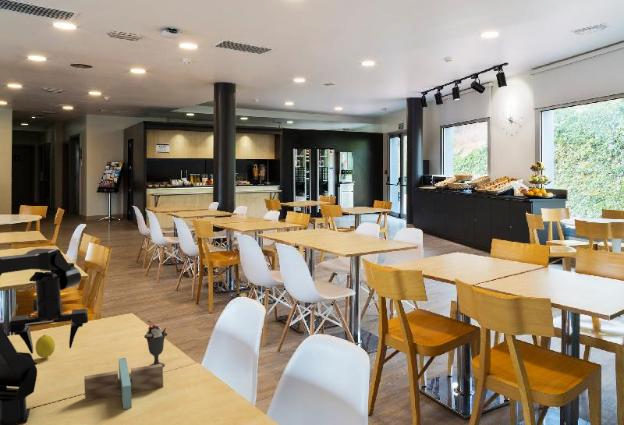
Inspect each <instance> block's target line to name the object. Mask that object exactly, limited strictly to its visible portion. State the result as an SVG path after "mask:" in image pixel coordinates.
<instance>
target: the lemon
mask: <svg viewBox="0 0 624 425" xmlns="http://www.w3.org/2000/svg"><path fill="white" fill-rule="evenodd" d="M55 349H56V343H55V340H54V338H53V337H52V336H50V335H48V334H43V335H42V336H40V337H38V339H37V340H36V342H35V352H36V354H37V356H39V357H40V358H43V359H45V360H46V359H48V358H49V357H51V355H53V353H54V352H55Z"/></svg>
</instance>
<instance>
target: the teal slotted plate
mask: <svg viewBox="0 0 624 425" xmlns="http://www.w3.org/2000/svg"><path fill="white" fill-rule="evenodd" d="M127 361H128V360H127V358H126V357H121V358H118V380H119V381H121V392H122V394H121V399H122V409H123V410H128V409H131V408H133V407H132V406H133V404H132V403H133V402H132V393H131V383H130V379H131V377H130V374H129V367H128V362H127Z"/></svg>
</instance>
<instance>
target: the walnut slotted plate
mask: <svg viewBox="0 0 624 425" xmlns="http://www.w3.org/2000/svg"><path fill="white" fill-rule="evenodd" d="M149 365H150V366H149ZM149 365H147V366H141V367H140V366H139V367H134V368H130V383H131V394H132V393H136V392H142V391H147V390H152V389H158V388H164V371H163V370H164V369H163V368H164V367H163V366H162V364H157V365H151V364H149ZM83 380H84V383H83V384H84V401H85V402H86V401H92V400H98V399H104V398H108V397H113V396H119V395H121V396H122V392H121V381H120V380H119V370H115V371H110V372H109V371H108V372H103V373H96V374H91V375H85V376H84V379H83Z"/></svg>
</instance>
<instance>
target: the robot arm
mask: <svg viewBox="0 0 624 425" xmlns="http://www.w3.org/2000/svg"><path fill="white" fill-rule="evenodd" d="M27 270H36V271H35V272H34V274H33V275H32V276H30V278H29V282H35V292H36V294H35V295H36V297H35V298H36V299H33V300H32V302H33V305H32V311H33V312H35V313H37V314H36V315H37V316H36V317H29V315H28V314H24V315H23V314H22V315H13V316H12V317H11V318H10V320H9V322H8V325H7V328H8V332H9V333H14V335H15V336H17V335H18V336H20V338H21V340H22V341H23V342H24V343H25V345H26V347H27V349H28V351H29V352H21V351H20V352H19V351H17V349H16V348H15V346H14V344H13V342H12V341H11V339H9V337H8V335H7V333H6V331H5V330H4V328H3V326H2V325H1V324H0V425H19V424H25V423H27V422H28V420H29V415H30V411H31V409H30V408H27V397H28V396H30V395H32V394H33V393H34V392H35V387H36V382H37V377H38V368H37V366H36V365H37V364H38V363H37V362H36V361H35V360H34V358H33V356H32V354H33V353H34V346H33V339H32V333H31V326H38V325H44V324H46V325H47V324H55V323H62V322H70V330H69V342H68V348H69V349H71V348H72V346H73V343H74V339H75V336H76V334H77V331H78V330H79V328H82V327H83V326H84V324H87V323H88V321H89V315H88V314H89V313H88V309H87V308H77V309H72V310H71V313H66V314H63V302H62V299H61V291H63V290H66V289H69V288H71V287H74V286H76V285H78V284H80V283H81V280H82V274H81V272H80V270H79V269H78V267H76V266H75V263H74V262H68V261H67V260H66V258H65V257H64V255H63V254H62V252H61V250H60V249H58V248H57V249H56V248H34V249H31V250H29V251H27V252H26V253H24V254H23V253H22V254H17V255H16V254H14V255H5V256H4V255H3V256H0V277H1V275H3V274H8V273H13V272H14V273H15V272H21V271H27ZM37 270H38V271H37Z"/></svg>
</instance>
